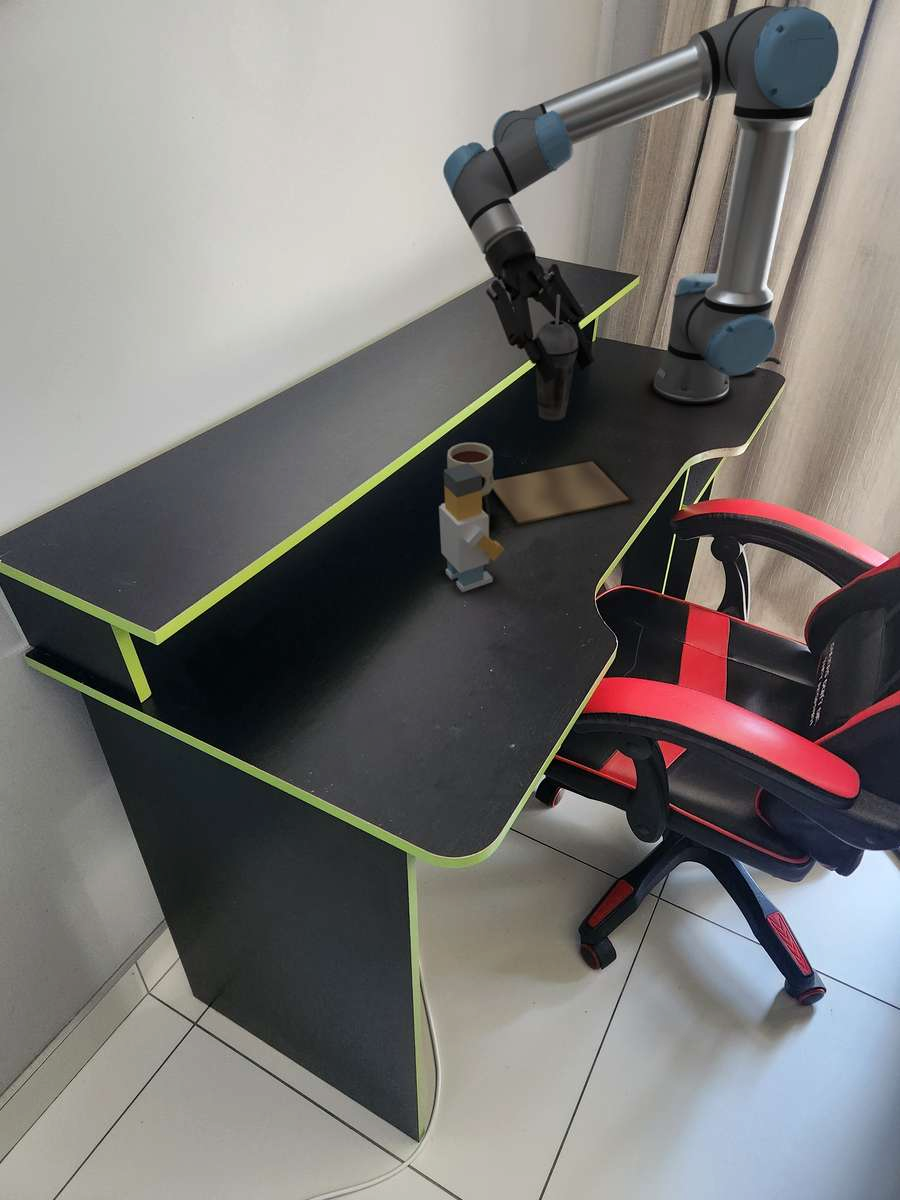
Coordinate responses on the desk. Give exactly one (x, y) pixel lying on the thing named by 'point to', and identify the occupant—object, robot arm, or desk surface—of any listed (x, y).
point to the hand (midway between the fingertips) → (569, 371)
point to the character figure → (466, 528)
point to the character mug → (475, 465)
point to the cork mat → (557, 492)
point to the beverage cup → (556, 367)
